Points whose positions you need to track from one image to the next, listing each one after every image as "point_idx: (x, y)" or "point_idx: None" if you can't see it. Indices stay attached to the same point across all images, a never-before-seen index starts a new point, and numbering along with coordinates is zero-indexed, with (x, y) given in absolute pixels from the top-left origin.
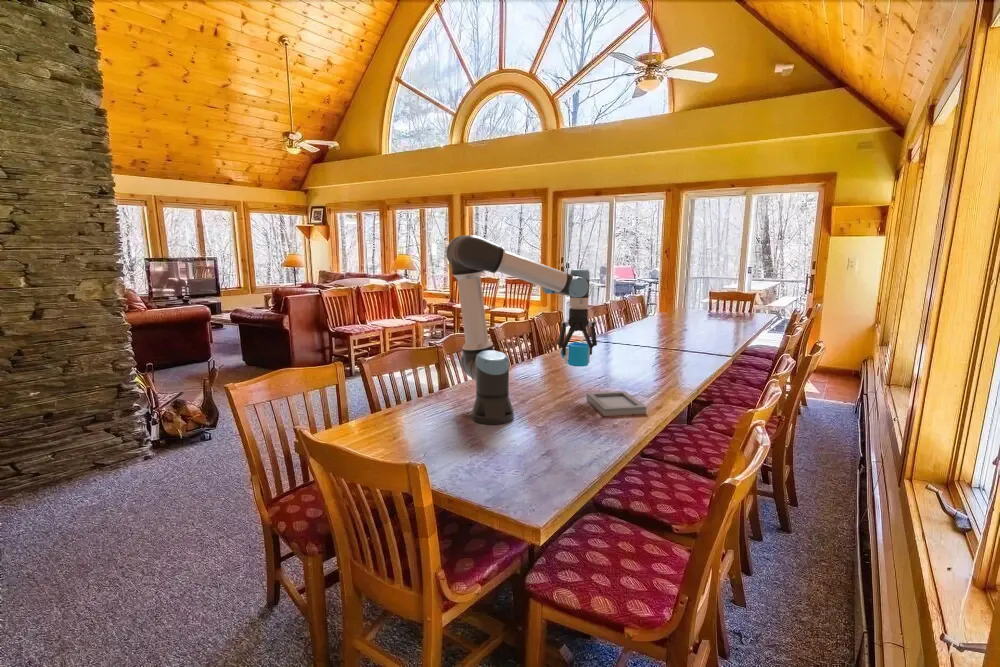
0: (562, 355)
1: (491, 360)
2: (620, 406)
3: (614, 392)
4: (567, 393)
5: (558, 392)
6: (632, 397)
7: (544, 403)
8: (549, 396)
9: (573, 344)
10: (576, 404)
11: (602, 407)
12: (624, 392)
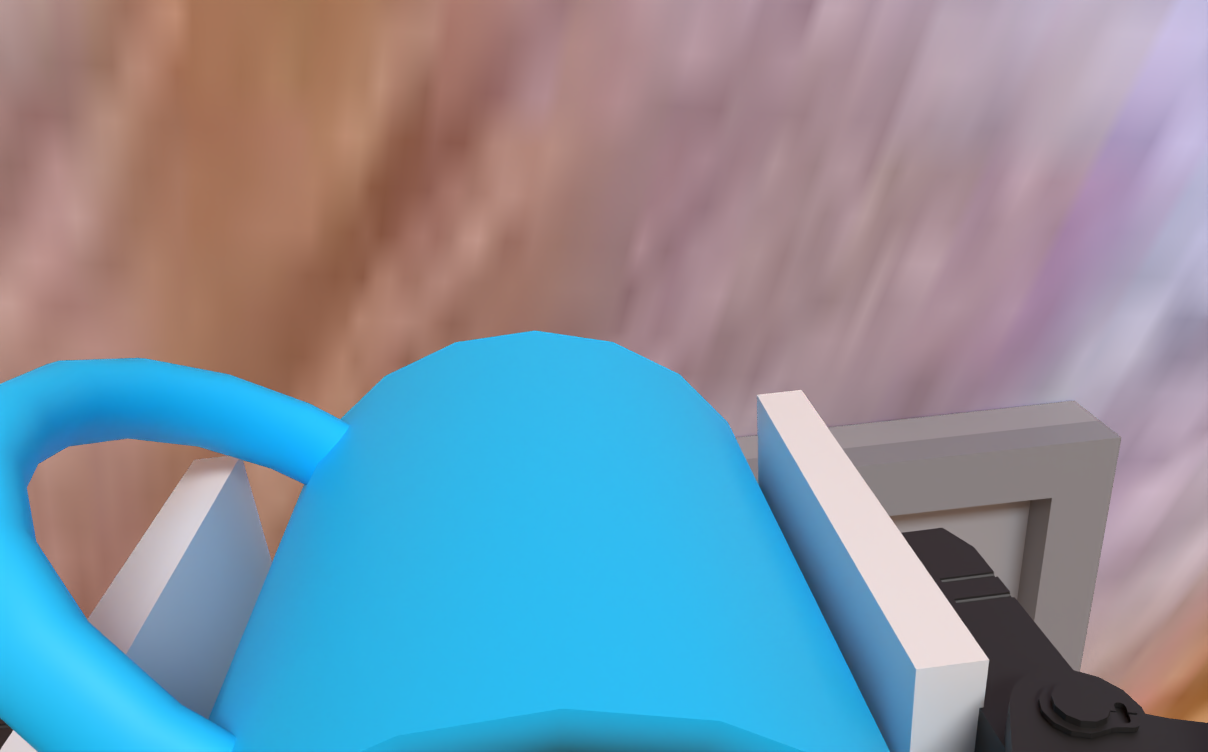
0: (76, 441)
1: None
2: None
3: (969, 484)
4: (414, 194)
5: (286, 136)
6: (1072, 648)
7: (104, 560)
8: (154, 314)
9: None
10: None
11: None
12: (1086, 486)
